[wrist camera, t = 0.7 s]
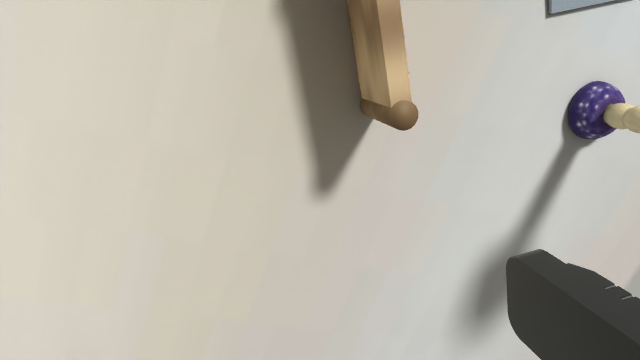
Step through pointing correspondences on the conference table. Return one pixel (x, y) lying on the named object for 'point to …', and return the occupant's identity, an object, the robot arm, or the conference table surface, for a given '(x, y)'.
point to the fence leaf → (382, 62)
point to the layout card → (571, 4)
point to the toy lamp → (601, 111)
